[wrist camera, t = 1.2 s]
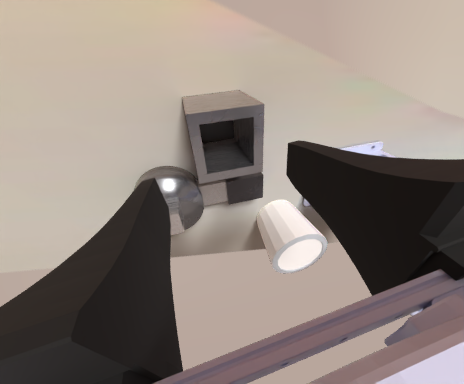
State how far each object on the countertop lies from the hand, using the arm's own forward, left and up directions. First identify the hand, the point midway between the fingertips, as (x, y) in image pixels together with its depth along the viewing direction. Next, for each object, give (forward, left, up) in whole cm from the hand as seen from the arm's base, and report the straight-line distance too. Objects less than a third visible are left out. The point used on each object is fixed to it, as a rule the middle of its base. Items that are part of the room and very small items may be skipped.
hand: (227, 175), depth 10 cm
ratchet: (+2, +7, -10) cm, 12 cm away
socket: (-1, 0, -10) cm, 10 cm away
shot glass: (-8, +14, -10) cm, 19 cm away
